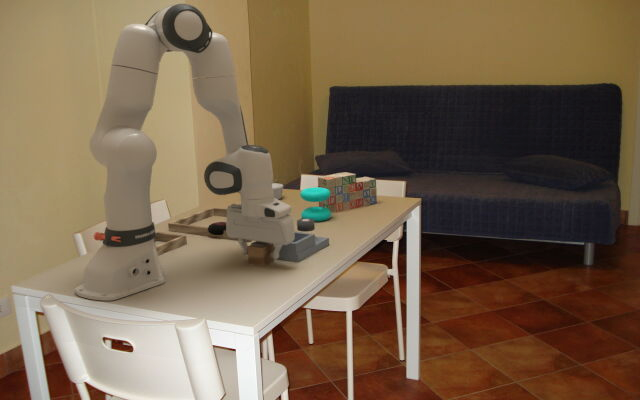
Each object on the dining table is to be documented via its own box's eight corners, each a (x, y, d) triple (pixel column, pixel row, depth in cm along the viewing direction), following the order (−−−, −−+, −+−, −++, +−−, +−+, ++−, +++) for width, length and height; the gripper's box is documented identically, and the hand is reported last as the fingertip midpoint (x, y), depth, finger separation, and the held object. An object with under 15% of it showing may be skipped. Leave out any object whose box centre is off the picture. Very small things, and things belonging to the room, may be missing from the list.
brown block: (263, 266, 174) (262, 246, 172) (248, 264, 176) (247, 244, 175) (274, 261, 178) (273, 241, 176) (259, 258, 180) (257, 239, 179)
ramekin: (253, 197, 256) (252, 183, 255) (281, 195, 258) (281, 181, 257) (256, 203, 246) (255, 189, 244) (285, 201, 248) (284, 187, 246)
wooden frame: (151, 258, 184) (150, 249, 184) (103, 250, 193) (102, 241, 193) (186, 243, 197) (186, 235, 196) (140, 236, 206) (139, 229, 205)
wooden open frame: (249, 241, 196) (248, 233, 196) (168, 230, 212) (168, 223, 211) (290, 223, 215) (289, 215, 215) (213, 214, 231) (213, 207, 231)
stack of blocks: (366, 201, 243) (365, 168, 240) (377, 203, 238) (376, 170, 235) (318, 210, 232) (317, 176, 229) (328, 213, 227) (327, 178, 224)
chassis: (298, 261, 176) (297, 243, 175) (264, 256, 182) (263, 239, 180) (329, 244, 190) (328, 228, 189) (297, 240, 196) (296, 224, 195)
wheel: (309, 232, 186) (308, 223, 185) (294, 230, 188) (293, 221, 188) (317, 227, 190) (317, 218, 189) (303, 226, 192) (302, 217, 192)
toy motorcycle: (204, 240, 203) (248, 236, 196) (201, 223, 202) (245, 219, 195) (246, 222, 225) (287, 218, 218) (244, 207, 224) (284, 203, 217)
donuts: (333, 191, 214) (304, 194, 212) (334, 220, 217) (305, 223, 214) (325, 185, 224) (297, 188, 221) (326, 213, 226) (298, 216, 224)
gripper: (219, 205, 176) (223, 254, 179) (283, 212, 166) (286, 264, 169) (233, 200, 181) (236, 248, 184) (296, 207, 171) (298, 257, 174)
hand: (260, 256), depth 176 cm, fingers open, 8 cm apart
